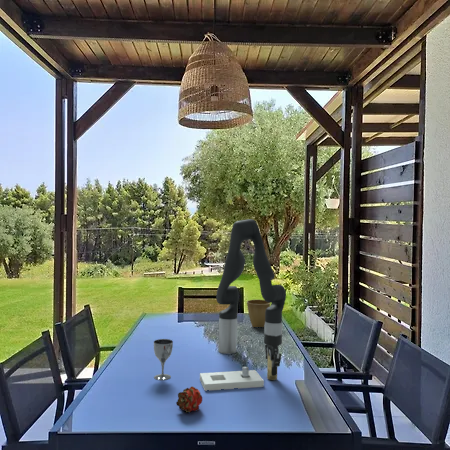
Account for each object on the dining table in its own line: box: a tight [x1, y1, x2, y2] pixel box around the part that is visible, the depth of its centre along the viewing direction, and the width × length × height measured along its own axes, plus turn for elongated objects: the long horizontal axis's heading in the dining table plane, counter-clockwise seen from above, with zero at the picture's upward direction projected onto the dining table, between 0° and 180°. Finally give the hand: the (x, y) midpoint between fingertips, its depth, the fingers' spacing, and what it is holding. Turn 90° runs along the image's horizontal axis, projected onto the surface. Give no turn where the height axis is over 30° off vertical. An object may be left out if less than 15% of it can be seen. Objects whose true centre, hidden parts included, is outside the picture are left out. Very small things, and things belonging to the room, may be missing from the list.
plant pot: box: [246, 299, 271, 328], centre depth 262 cm, size 15×15×16 cm
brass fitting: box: [266, 356, 278, 381], centre depth 173 cm, size 4×4×9 cm
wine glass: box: [153, 338, 174, 381], centre depth 173 cm, size 8×8×15 cm
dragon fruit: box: [175, 386, 203, 413], centre depth 143 cm, size 8×8×12 cm
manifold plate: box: [199, 369, 265, 392], centre depth 168 cm, size 12×24×2 cm, turn 103°
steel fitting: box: [241, 366, 250, 378], centre depth 169 cm, size 3×3×6 cm
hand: (272, 372), depth 173 cm, fingers closed on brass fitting, 4 cm apart
